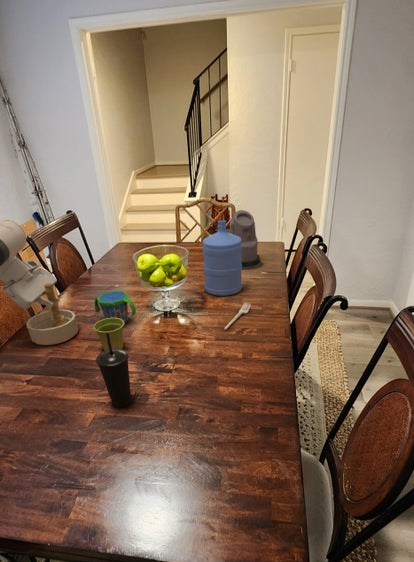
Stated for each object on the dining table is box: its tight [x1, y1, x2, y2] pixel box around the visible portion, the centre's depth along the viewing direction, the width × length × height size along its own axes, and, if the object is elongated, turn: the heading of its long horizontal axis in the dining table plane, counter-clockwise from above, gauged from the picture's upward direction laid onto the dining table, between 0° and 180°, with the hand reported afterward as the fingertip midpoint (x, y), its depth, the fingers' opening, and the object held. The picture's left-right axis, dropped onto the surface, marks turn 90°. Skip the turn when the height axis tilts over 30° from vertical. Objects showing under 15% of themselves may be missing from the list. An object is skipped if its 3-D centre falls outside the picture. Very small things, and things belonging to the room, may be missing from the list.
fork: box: [223, 302, 252, 330], centre depth 133 cm, size 3×20×2 cm, turn 152°
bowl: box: [25, 308, 80, 346], centre depth 127 cm, size 16×16×6 cm
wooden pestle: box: [44, 283, 66, 328], centre depth 124 cm, size 4×4×15 cm
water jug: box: [202, 219, 243, 297], centre depth 150 cm, size 16×16×28 cm
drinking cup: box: [95, 333, 132, 408], centre depth 90 cm, size 8×8×20 cm
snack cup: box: [94, 290, 137, 324], centre depth 132 cm, size 16×10×10 cm
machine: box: [226, 209, 263, 270], centre depth 183 cm, size 30×16×24 cm, turn 19°
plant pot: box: [92, 318, 125, 352], centre depth 117 cm, size 9×9×9 cm
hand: (55, 303), depth 123 cm, fingers closed on wooden pestle, 2 cm apart
